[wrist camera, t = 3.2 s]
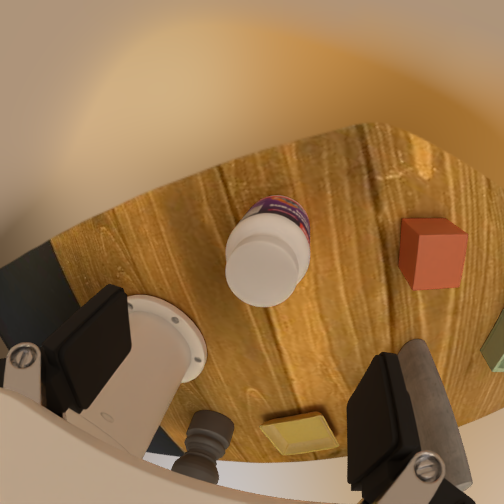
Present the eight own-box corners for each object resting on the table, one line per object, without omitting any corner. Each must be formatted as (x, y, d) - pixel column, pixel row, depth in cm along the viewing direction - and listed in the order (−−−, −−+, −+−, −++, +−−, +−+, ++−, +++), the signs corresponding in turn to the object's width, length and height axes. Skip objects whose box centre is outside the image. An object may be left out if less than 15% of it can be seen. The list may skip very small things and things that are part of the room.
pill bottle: (323, 226, 24) (331, 279, 15) (278, 266, 26) (262, 333, 17) (276, 179, 23) (257, 207, 15) (233, 224, 25) (193, 273, 17)
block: (397, 266, 24) (412, 291, 20) (401, 218, 23) (419, 235, 18) (440, 264, 23) (459, 287, 19) (445, 218, 22) (468, 234, 18)
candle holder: (215, 406, 35) (153, 569, 13) (242, 430, 37) (197, 582, 14) (185, 414, 38) (120, 555, 15) (211, 436, 39) (161, 570, 16)
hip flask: (385, 425, 32) (394, 552, 14) (358, 425, 33) (359, 557, 15) (430, 339, 26) (486, 504, 8) (398, 338, 27) (440, 519, 9)
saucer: (259, 414, 35) (257, 426, 33) (323, 402, 32) (323, 415, 30) (283, 445, 37) (282, 456, 35) (340, 435, 34) (340, 447, 32)
